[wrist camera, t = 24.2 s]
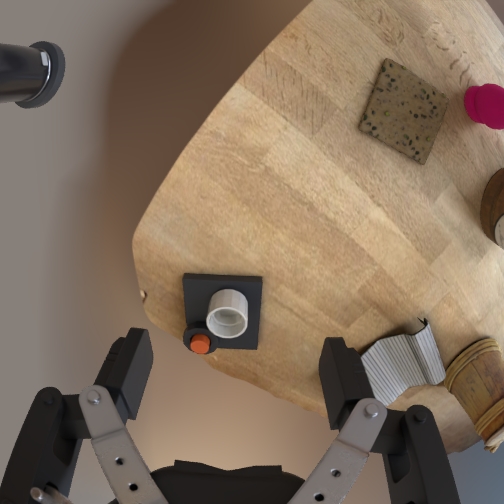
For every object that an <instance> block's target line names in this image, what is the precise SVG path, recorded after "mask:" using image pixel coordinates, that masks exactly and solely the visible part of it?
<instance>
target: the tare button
mask: <svg viewBox="0 0 504 504" xmlns="http://www.w3.org/2000/svg"><path fill="white" fill-rule="evenodd" d="M209 344H210V339H209V338H208V337H207V336H206V335H204V334H196V335H194V336H193V337H192V341H191V349H192V350H193V351H194V352H196V353H199V354H204V353H206V352H207V351H208V350H209Z"/></svg>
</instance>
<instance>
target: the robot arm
mask: <svg viewBox="0 0 504 504" xmlns="http://www.w3.org/2000/svg"><path fill="white" fill-rule="evenodd" d="M52 68H53V63H52V58H51V55H50V54H49V52H48V51H47V50H45V49H42V48H32V47H26V46H18V45H10V44H0V103H7V102H18V101H31V100H34V99H36V98H37V97H39V96H40V95H41V94H42V93H43V91H44V90H45V88H46V87H47V85H48V83H49V81H50V78H51V74H52ZM152 364H153V351H152V346H151V342H150V337H149V332H148V330H147V329H141V328H130V330H129V332H128V334H127V336H126V338H124V337H120V338H119V339H118V340H116V341H115V342H114V343H113V344H112V346H111V348H110V351H109V354H108V355H107V357H106V360H105V361H104V363H103V365H102V367H101V370H100V372H99V374H98V376H97V378H96V380H95V383H94V384H93V385H92V386H88V387H87V388H85V389H84V390H82V392H81V393H80V394H75V395H62V394H61V392H60V391H59V390H58V389H57V388H54V387H46V388H43V389H42V390H40V391H39V392H38V393H37V395H36V396H35V399H34V401H33V403H32V405H31V407H30V410H29V412H28V414H27V417H26V419H25V421H24V424H23V426H22V428H21V431H20V433H19V436H18V438H17V440H16V443H15V446H14V448H13V451H12V454H11V457H10V459H9V462H8V465H7V468H6V471H5V474H4V477H3V480H2V483H1V487H0V504H73V503H72V502H71V501H70V500H69V499H68V495H69V491H70V487H71V482H72V478H73V474H74V470H75V466H76V463H77V459H78V455H79V452H80V448H81V445H82V441H83V439H91V438H92V440H91V444H92V446H93V449H94V451H95V454H96V456H97V458H98V461H99V463H100V465H101V468H102V469H103V472H104V474H105V476H106V478H107V480H108V482H109V485H110V487H111V489H112V491H113V493H114V494H115V496H116V498H115V499H114V500H113V501H111V502H110V503H108V504H341V503H342V501H343V500H344V498H345V496H346V495H347V493H348V492H349V490H350V488H351V487H352V485H353V484H354V482H355V480H356V479H357V477H358V475H359V473H360V472H361V470H362V468H363V466H364V464H365V463H366V461H367V459H368V457H369V452H374V453H382V456H383V461H384V466H385V471H386V477H387V482H388V488H389V493H390V499H391V504H461V503H460V499H459V496H458V492H457V488H456V484H455V481H454V477H453V474H452V470H451V467H450V464H449V460H448V457H447V454H446V451H445V448H444V445H443V442H442V439H441V436H440V433H439V430H438V427H437V424H436V422H435V419H434V416H433V414H432V412H431V411H430V410H429V409H428V408H427V407H425V406H423V405H413V406H411V407H409V408H408V409H407V411H398V410H391V409H387V408H386V407H385V405H384V404H383V403H382V402H381V401H379V400H377V399H376V398H375V396H374V393H373V390H372V387H371V384H370V381H369V378H368V376H367V373H366V370H365V367H364V366H363V362H362V359H361V357H360V355H359V354H358V353H357V351H356V350H355V349H354V348H347V347H346V344H345V341H344V339H343V337H326V339H325V341H324V345H323V349H322V352H321V356H320V360H319V375H320V380H321V384H322V389H323V394H324V399H325V403H326V408H327V413H328V418H329V423H330V428H331V430H335V429H339V434H338V436H337V437H336V439H335V440H334V441H333V443H332V444H331V446H330V447H329V449H328V450H327V452H326V453H325V455H324V456H323V458H322V459H321V460H320V462H319V463H318V465H317V466H316V467H315V469H314V470H313V472H312V473H311V474H310V476H309V477H308V478H307V480H306V481H305V480H304V479H302V478H300V477H298V476H296V475H294V474H291V473H287V472H283V471H282V467H281V465H278V466H252V467H246V468H241V469H235V470H228V471H227V470H223V469H219V468H216V467H212V466H209V465H206V464H203V463H198V462H189V461H181V460H175V462H174V466H168V467H163V468H160V469H157V470H155V471H153V472H151V471H150V470H149V468H148V466H147V465H146V463H145V462H144V460H143V458H142V456H141V455H140V453H139V451H138V449H137V447H136V446H135V444H134V442H133V440H132V438H131V436H130V434H129V432H128V430H127V428H126V426H125V425H126V422H127V419H132V420H136V416H137V413H138V409H139V406H140V403H141V399H142V396H143V393H144V389H145V386H146V383H147V380H148V377H149V374H150V371H151V368H152Z"/></svg>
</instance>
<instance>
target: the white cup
mask: <svg viewBox="0 0 504 504" xmlns="http://www.w3.org/2000/svg"><path fill="white" fill-rule="evenodd" d="M206 321H207V326H208V328H209V330H210V331H211V332H212V333H213V334H215V335H216V336H219V337H222V338H234V337H238V336H239V335H241V334H242V333H244V332H245V330H246V328H247V322H248V302H247V300H246V298H245V296H244V295H243V294H241V293H240V292H238V291H236V290H232V289H224V290H220V291H218V292H216V293H215V294H214V295H213V296H212V298H211V300H210V303H209V309H208V314H207V319H206Z"/></svg>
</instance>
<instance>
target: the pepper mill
mask: <svg viewBox="0 0 504 504" xmlns="http://www.w3.org/2000/svg"><path fill="white" fill-rule="evenodd" d="M464 101H465V108H466V111H467V113H468V115H469V116H470V118H471V119H472V120H473V121H475V122H477V123H482V124H486V125H487V126H488V127H490V128H492V129H499V130H501V129H504V88H502V87H500V86H498V85H496V84H484V85H483V86H472V87H470V88H469V89H468V90H467V92H466V94H465V99H464Z"/></svg>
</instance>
